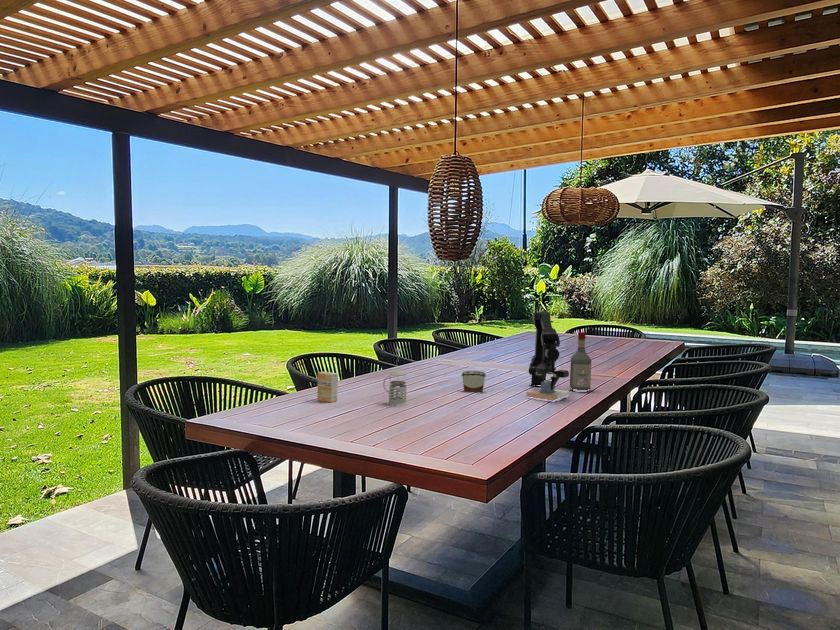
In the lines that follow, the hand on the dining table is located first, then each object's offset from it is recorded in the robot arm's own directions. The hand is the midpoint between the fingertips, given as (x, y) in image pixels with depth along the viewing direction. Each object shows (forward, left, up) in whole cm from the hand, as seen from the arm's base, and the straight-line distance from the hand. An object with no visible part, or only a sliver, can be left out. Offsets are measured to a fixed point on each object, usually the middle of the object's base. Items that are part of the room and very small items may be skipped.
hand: (547, 389), depth 283 cm
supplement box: (+77, -71, -4) cm, 105 cm away
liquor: (-27, +4, -4) cm, 28 cm away
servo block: (0, 0, -1) cm, 1 cm away
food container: (+12, -35, -4) cm, 37 cm away
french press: (+59, -45, -4) cm, 74 cm away
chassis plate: (0, 0, -4) cm, 4 cm away
